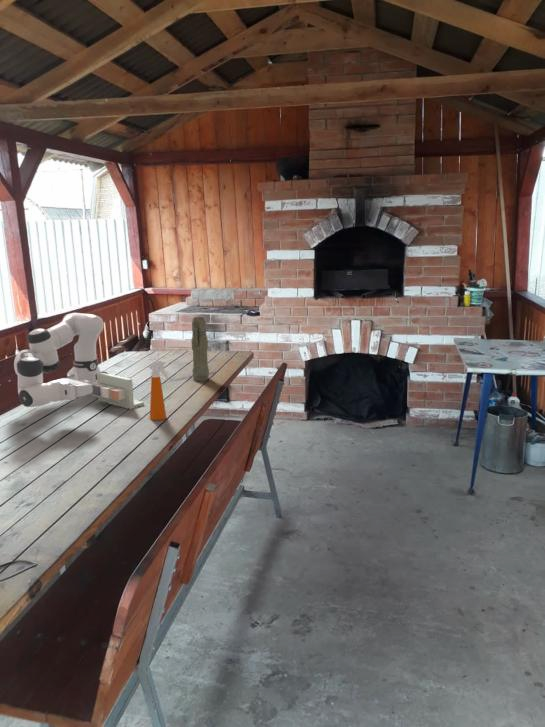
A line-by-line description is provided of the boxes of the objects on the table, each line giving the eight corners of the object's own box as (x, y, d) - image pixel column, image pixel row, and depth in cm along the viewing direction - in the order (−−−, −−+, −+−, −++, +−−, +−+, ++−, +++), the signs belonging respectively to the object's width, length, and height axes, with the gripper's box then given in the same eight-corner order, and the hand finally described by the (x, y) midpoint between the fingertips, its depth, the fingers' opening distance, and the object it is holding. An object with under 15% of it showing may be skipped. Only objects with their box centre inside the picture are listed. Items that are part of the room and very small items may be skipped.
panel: (98, 400, 270) (96, 372, 267) (112, 396, 276) (110, 369, 273) (130, 409, 256) (128, 380, 253) (144, 405, 262) (142, 376, 259)
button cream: (102, 396, 260) (101, 387, 259) (117, 392, 266) (116, 383, 265) (108, 398, 257) (107, 388, 256) (123, 394, 264) (122, 384, 263)
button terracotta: (111, 399, 256) (110, 389, 254) (126, 395, 262) (126, 385, 261) (117, 401, 253) (116, 391, 252) (133, 396, 260) (132, 387, 259)
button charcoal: (92, 394, 264) (92, 385, 263) (108, 390, 271) (107, 381, 270) (98, 396, 261) (98, 386, 260) (114, 391, 268) (113, 382, 267)
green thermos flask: (191, 382, 303) (188, 318, 296) (195, 376, 315) (192, 315, 307) (207, 382, 303) (204, 318, 295) (210, 376, 315) (208, 315, 307)
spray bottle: (164, 423, 237) (161, 363, 231) (146, 418, 242) (142, 360, 236) (176, 418, 242) (173, 359, 237) (157, 414, 248) (154, 357, 242)
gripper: (47, 392, 238) (75, 385, 249) (75, 400, 226) (103, 393, 236) (45, 378, 237) (74, 372, 247) (73, 385, 224) (102, 378, 235)
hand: (88, 382), depth 242 cm, fingers closed
